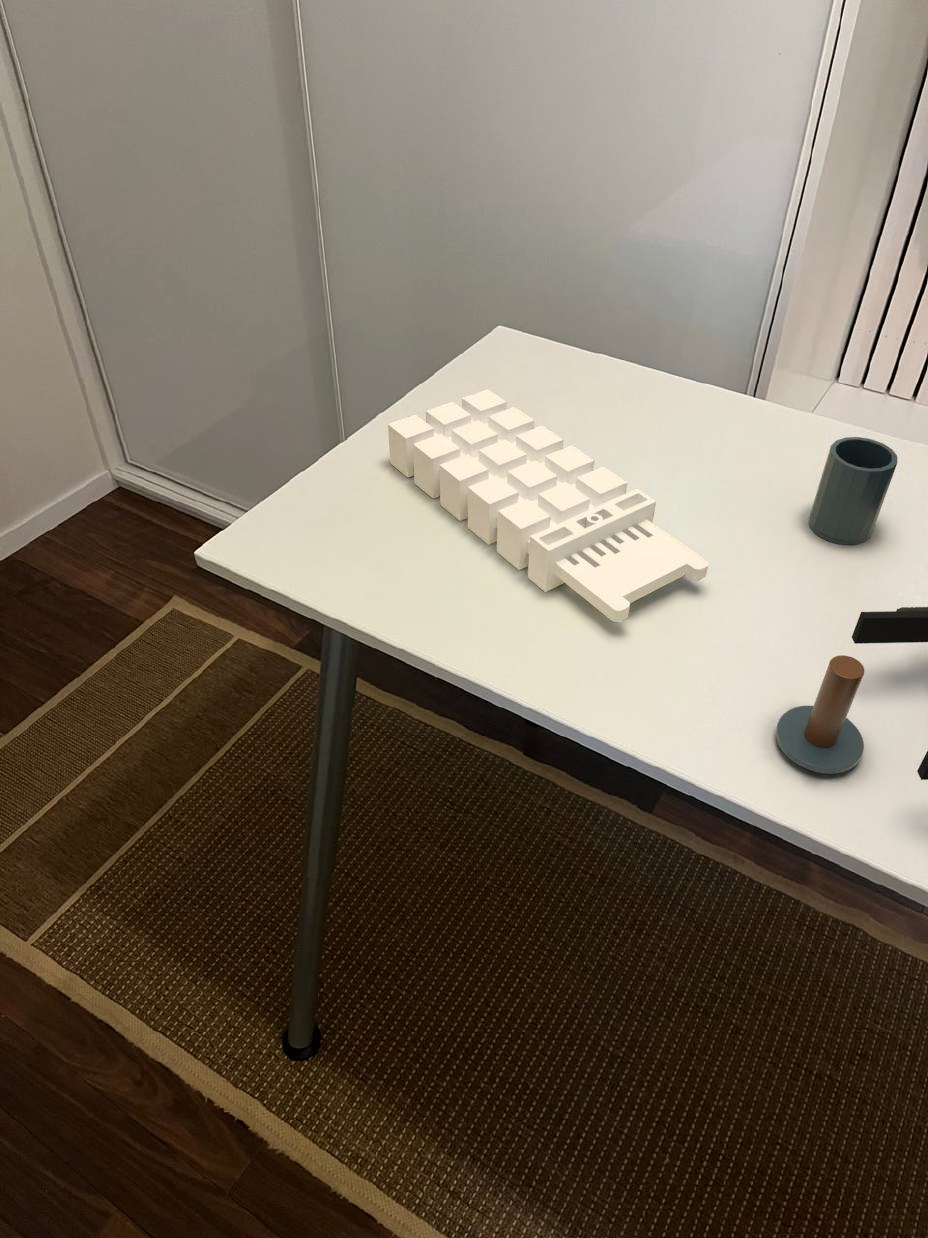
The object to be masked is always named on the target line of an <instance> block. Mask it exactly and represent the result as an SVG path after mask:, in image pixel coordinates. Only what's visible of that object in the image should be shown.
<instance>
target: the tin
mask: <svg viewBox="0 0 928 1238" xmlns="http://www.w3.org/2000/svg"><path fill="white" fill-rule="evenodd" d="M898 462H899V461H898V455H897V454H896V452H895V450H893V448H891V447H889V446H888V445H886V444H885V443H884V442H880V441H877V440H876V439H871V438H868V437H861V436H849V437H848V436H847V437H842V438H839V439H836V440H835V441H833V443H831V444H830V448H829V450H828V454H827V457H826V460H825V464H824V467H823V469H822V473H821V477H820V480H819V483H818V486H817V490H816V493H815V496H814V500H813V504H812V506H811V510H810V513H809V517H808V526H809V527H810V529H811V531H812V532H813V533H814V534H815V535H816V536H818V537H819V538H821V539H823V540H825V541H827V542H830V543H833V544H838V545H844V546H845V545H846V546H853V545H859V544H862V543H864V542H867V540H868V539H870V537H871V534H872V533H873V531H874V529H875V526H876V523H877V520H878V517H879V515H880V512H881V510H882V508H883V507H882V506H883V504H884V501H885V498H886V495H887V493H888V490H889V487H890V485H891V482H892V479H893V477H894V473H895V470H896V468H897V465H898Z"/></svg>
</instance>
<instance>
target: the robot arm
mask: <svg viewBox="0 0 928 1238" xmlns="http://www.w3.org/2000/svg"><path fill="white" fill-rule="evenodd" d="M851 639H852V641H853V643H854V644H856V645H857V644H903V643H904V644H906V643H909V644H910V643H928V606H915V607H914V606H910V607H908V606H905V607H904V606H902V607H899V608H896V610H895V611H893V610H889V611H887V610H885V611H860V614H859V617H858V619H857V622H856V623H855V626H854V629H853V632H852V635H851ZM916 772H917V775H918V777H919V779H920V780H921V781H928V750H927V751H926V753H925V754H924V757H923V758H922V760H921V763H920V765H919V766H918V768H917V770H916Z"/></svg>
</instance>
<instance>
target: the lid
mask: <svg viewBox="0 0 928 1238" xmlns="http://www.w3.org/2000/svg"><path fill="white" fill-rule="evenodd" d="M864 674H865V667H864V665H863V664H862V662H861V661H859V660H858V659H856V658H855V657H852V656H849V655H842V654H841V655H836V656H834V657H832V658H831V659H830V661H829V663H828V666H827V668H826V671H825V673H824V676H823V679H822V682H821V684H820V687H819V689H818V692H817V694H816V695H817V696H816V697H815V701H814V704H813V705H801V706H796V707H792V708H791V709H789V710H787V711H786V712H784V713H783V714H782V715H781V717H780V718H779V720H778V722H777V725H776V728H775V738H776V742H777V744H778V746H779V748H780V750H781V751H782V752H783V754H784V755H785V756H786V757H787V758H788V759H789V760H791V761H792V762H793V763H794V764H796V765H798V766H800V767H801V768H803V769H806V770H808V771H810V772H815V773H819V774H820V773H821V774H826V775H827V774H828V775H832V774H842V773H845V772H847V771H850V770H851V769H853V768H854V767H855V766H857V764H859V762H860V760H861V759H862V756H863V754H864V750H865V745H864V743H865V742H864V738H863V736H862V734H861V732H860V730H859V729H858V727H857V726H856V725H855V724H854V723H853V722H852V721H851V720H850V719H848V715H849V712H850V709H851V706H852V704H853V702H854V699H855V697H856V695H857V692H858V690H859V688H860V684H861V682H862V679H863V677H864Z"/></svg>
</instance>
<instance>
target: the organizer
mask: <svg viewBox="0 0 928 1238" xmlns="http://www.w3.org/2000/svg"><path fill="white" fill-rule="evenodd" d="M507 405H508V404H507V401H506V400H505V399H503V398H502V397H500V396H498V395H497V394H495V393H494V392H492V391H491V390H490V389H484V390H481V391H479V392H475V393H473V394H470V395H467V396H464V397H462V398H461V406H460V405H458V404H457V403H455V402H454V401H450V402H447V403H444V404H442V405H439V406H436V407H432V408H430V409H427V410H425V420H423V419H422V418H421V417H420V416H418V415H417V414H413V415H410V416H407V417H405V418H401V419H399V420H395V421H394V422H390V423H388V424H387V429H388V430H387V431H388V448H389V449H388V450H389V464H390V465H392V466H393V467H394V468H395V469H397V470H398V471H399V472H400V473H401V474H402V475H404V476H405V477H406V478H410V477H414V478H413V479H414V484H415V486H417V487H419V489H421V490H422V491H423V492H424V493H425V494H426V495H428V496H429V497H430V498H431V499H433V500H434V499H436V498H439V505H440V506H441V507H442V508H444V510H445V511H447V512H448V513H450V514H451V515H452V516H453V517H454V518H455V519H457V520H458V521H459V522H462V521H464V520H467V529H469V530H470V531H471V532H472V533H473V534H475V535H476V536H477V537H478V538H479V539H481V540H482V541H483V542H484V543H486V544H487V546H490V545H492V544H494V543H496V553H498V555H500V556H501V557H502V558H503V559H504V560H506V561H507V562H508V563H509V564H510V565H512V566H513V567H514V568H515V569H516V570H518V571H521V570H523V569H525V568H527V579H528V580H530V581H531V582H532V583H534V585H536V586H537V587H538V588H540V589H541V590H542V591H543V592H545V593H547V592H549V591H551V590H554V589H555V588H557V587H560V586H561V585H564V584H566V585H567V586H568V587H570V588H571V590H573V591H574V592H576V593H577V594H578V595H580V597H582V598H583V599H584V600H585V601H587V603H589V604H590V605H591V606H593V607H594V608H595V609H597V610H598V612H600V613H602V614H603V615H604V616H605V617H606V618H608V619H609V620H610V621H612V622H614V623H621V622H623V621H625V620H627V619H628V618H629V613H630V608H631V603H633V602H636V601H637V600H639V599H642V598H643V597H645V596H646V595H649V594H651V593H652V592H655V591H656V590H658V589H660V588H662V587H664V586H666V585H668V584H670V583H672V582H674V581H676V580H678V579H680V578H682V577H684V576H686V577H687V578H689V579H690V580H691V581H696V582H697V581H698V582H699V581H701V580H703V579H704V578H706V577H707V573H708V570H709V569H708V568H709V564H710V563H709V561H708V560H706V559H705V558H703V557H702V556H701V555H699V554H698V553H697V552H695V551H693V550H692V549H691V548H689V547H687V545H684V544H683V543H682V542H680V541H679V540H678V539H676V538H675V537H673V536H671V535H670V534H669V533H667V532H666V531H664V530H663V529H661V528H660V527H658V526H657V525H656V524H654V523H653V521H654V517H655V510H656V505H657V500H655V499H653V498H652V497H650V496H649V495H647V494H646V493H644V492H643V491H642V490H640V489H638V488H635V489H633V490H631V491H627V488H628V481H626V480H624V479H623V478H622V477H620V476H619V475H617V474H615V472H613V471H611V470H610V469H608V468H607V467H605V466H603V465H602V466H600V467H597V468H596V469H595V459H593V458H592V457H591V456H588V455H587V454H586V453H584V452H582V451H581V450H579V449H578V448H577V447H575V446H574V445H572V444H570V445H569V446H566V447H564V438H562V437H560V436H559V435H557V434H556V433H555V432H553V431H551V430H550V429H548V428H547V427H545V426H544V425H539V426H536V427H535V420H534V419H533V418H532V417H530V416H529V415H527V414H526V413H524V412H523V411H521V410H520V409H518V408H517V407H515V406H512V407H510V408H507V407H508V406H507Z"/></svg>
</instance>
